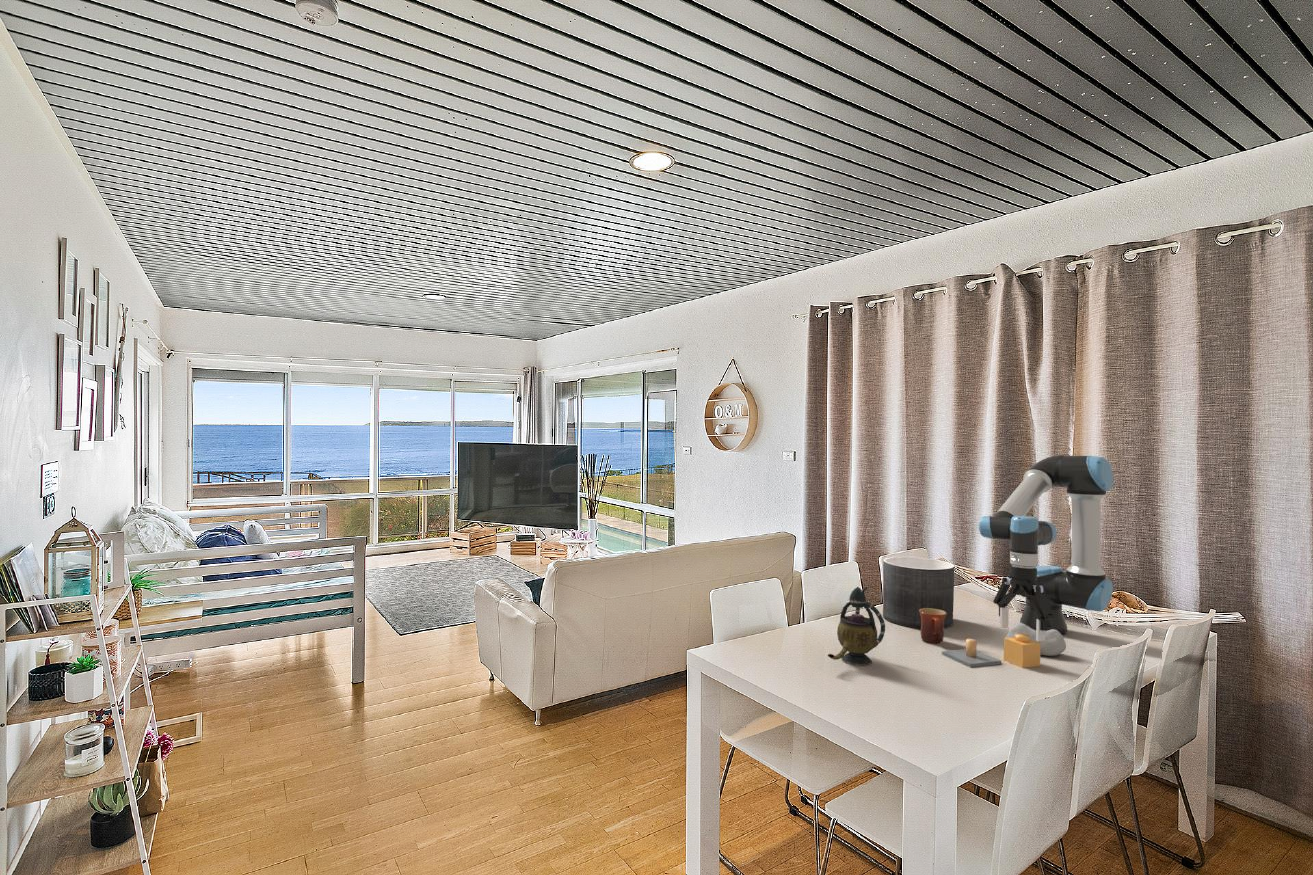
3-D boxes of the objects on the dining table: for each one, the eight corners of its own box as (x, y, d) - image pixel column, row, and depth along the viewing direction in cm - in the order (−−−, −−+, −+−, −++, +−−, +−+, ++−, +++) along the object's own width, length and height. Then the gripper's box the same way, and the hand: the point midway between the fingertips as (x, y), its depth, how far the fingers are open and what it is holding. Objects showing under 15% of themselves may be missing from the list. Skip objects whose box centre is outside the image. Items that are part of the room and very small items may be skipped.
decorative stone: (1001, 642, 214) (1007, 614, 218) (1004, 652, 220) (1010, 625, 224) (1062, 658, 203) (1067, 628, 207) (1063, 668, 209) (1068, 640, 213)
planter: (965, 630, 236) (966, 570, 236) (895, 628, 236) (896, 568, 236) (936, 611, 261) (937, 557, 261) (873, 610, 261) (874, 556, 262)
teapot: (888, 659, 203) (889, 585, 203) (849, 679, 185) (850, 598, 185) (852, 649, 211) (853, 579, 211) (812, 668, 193) (813, 591, 193)
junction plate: (971, 651, 212) (972, 633, 212) (1001, 663, 200) (1001, 644, 200) (941, 654, 208) (942, 635, 208) (970, 667, 197) (970, 647, 197)
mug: (916, 636, 227) (916, 607, 227) (942, 638, 226) (943, 609, 226) (923, 647, 216) (923, 616, 216) (951, 649, 214) (951, 618, 214)
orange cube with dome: (1021, 658, 206) (1021, 631, 206) (1040, 665, 199) (1040, 637, 199) (1003, 660, 204) (1004, 632, 204) (1022, 667, 197) (1022, 639, 197)
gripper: (982, 559, 212) (980, 623, 212) (1049, 574, 189) (1047, 647, 188) (1000, 558, 215) (999, 622, 214) (1068, 573, 191) (1067, 645, 191)
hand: (1021, 634), depth 201 cm, fingers open, 13 cm apart
